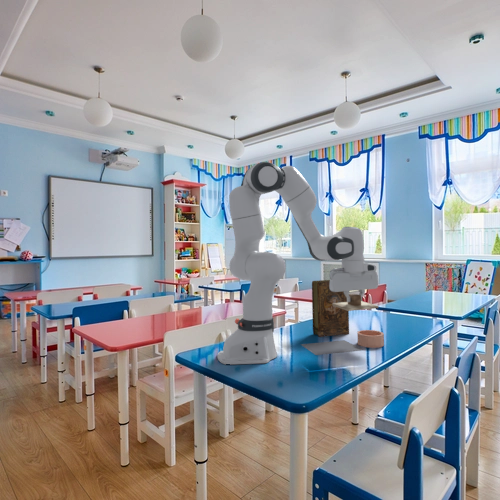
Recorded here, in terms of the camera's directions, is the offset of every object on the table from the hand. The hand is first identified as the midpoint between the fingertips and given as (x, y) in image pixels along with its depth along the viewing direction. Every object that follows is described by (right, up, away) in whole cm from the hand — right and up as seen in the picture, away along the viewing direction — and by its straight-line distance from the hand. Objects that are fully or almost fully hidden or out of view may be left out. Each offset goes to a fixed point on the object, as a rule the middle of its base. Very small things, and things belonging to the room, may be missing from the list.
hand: (354, 301), depth 139 cm
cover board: (0, -2, 0) cm, 2 cm away
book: (-5, -19, +19) cm, 27 cm away
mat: (-10, -18, -2) cm, 21 cm away
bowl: (+7, -18, +1) cm, 19 cm away
